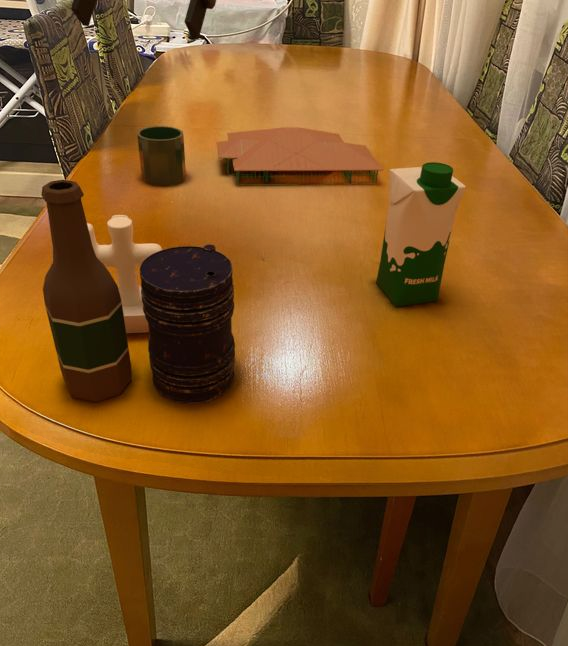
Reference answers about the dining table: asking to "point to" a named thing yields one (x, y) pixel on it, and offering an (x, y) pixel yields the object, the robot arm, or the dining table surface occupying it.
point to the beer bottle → (83, 303)
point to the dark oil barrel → (189, 322)
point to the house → (295, 153)
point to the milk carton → (418, 232)
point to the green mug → (162, 155)
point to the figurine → (125, 268)
